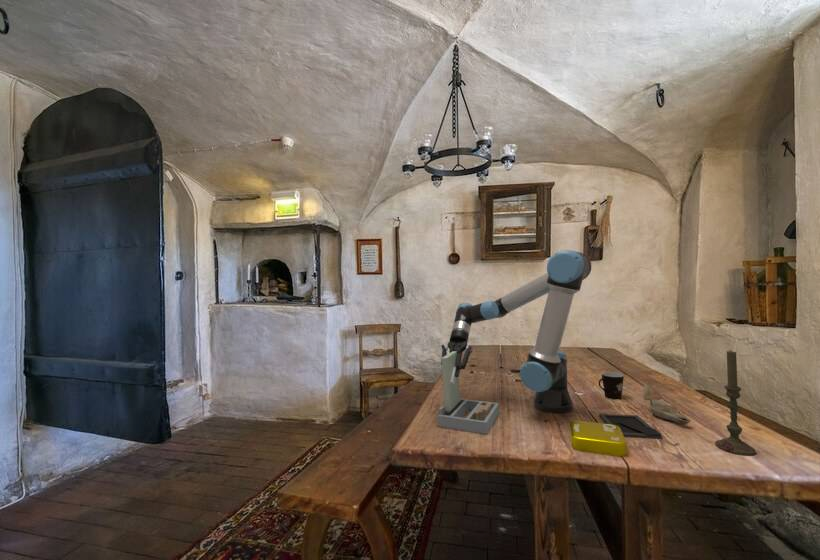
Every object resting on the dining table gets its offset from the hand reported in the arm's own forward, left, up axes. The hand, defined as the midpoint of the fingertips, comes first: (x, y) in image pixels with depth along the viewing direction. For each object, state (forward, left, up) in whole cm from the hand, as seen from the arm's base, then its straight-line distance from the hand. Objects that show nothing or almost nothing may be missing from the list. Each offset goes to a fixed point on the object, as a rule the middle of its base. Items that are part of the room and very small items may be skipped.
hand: (448, 383), depth 135 cm
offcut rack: (-7, -2, -14) cm, 16 cm away
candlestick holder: (-87, -10, -14) cm, 89 cm away
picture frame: (-60, -17, -15) cm, 64 cm away
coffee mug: (-57, -50, -14) cm, 77 cm away
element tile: (-50, +1, -14) cm, 52 cm away
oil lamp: (-74, -31, -14) cm, 82 cm away
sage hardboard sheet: (0, -3, -9) cm, 10 cm away
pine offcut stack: (-12, -2, -14) cm, 19 cm away
